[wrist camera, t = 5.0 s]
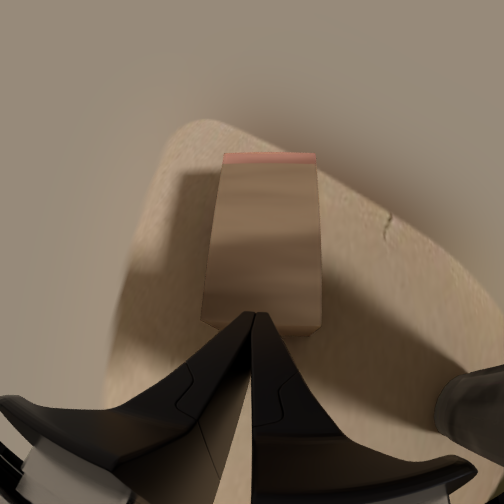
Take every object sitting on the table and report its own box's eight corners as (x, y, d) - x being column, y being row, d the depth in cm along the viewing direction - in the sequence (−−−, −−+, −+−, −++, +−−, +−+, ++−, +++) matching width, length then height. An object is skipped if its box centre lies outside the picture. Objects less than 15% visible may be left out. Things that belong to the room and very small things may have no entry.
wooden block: (321, 325, 11) (315, 153, 14) (200, 319, 11) (224, 153, 15) (309, 336, 15) (308, 202, 19) (223, 332, 16) (237, 201, 19)
